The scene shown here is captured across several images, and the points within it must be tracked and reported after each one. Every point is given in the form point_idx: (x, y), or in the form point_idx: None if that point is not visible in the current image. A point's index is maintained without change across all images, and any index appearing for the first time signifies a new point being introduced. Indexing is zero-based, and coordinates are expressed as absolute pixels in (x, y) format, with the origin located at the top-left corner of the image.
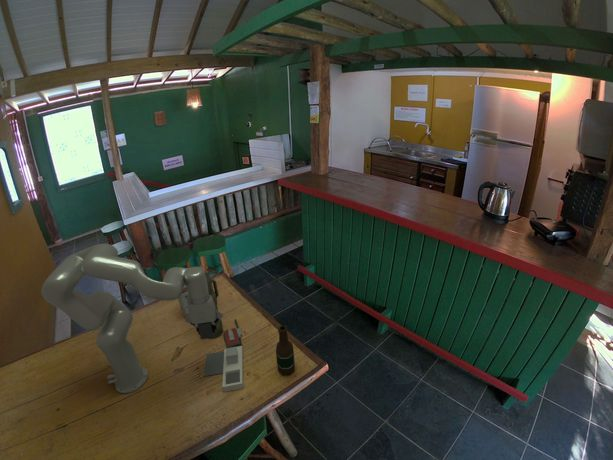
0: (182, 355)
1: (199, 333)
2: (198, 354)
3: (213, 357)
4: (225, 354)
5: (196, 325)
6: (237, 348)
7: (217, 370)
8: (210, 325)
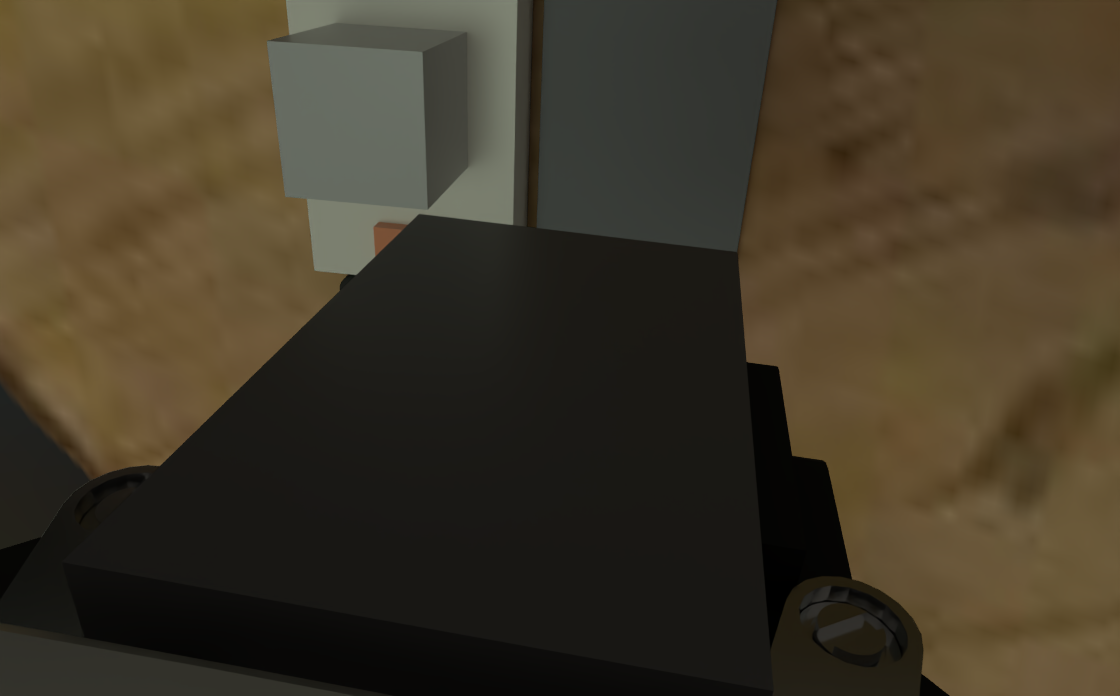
0: (994, 383)
1: (752, 383)
2: (817, 341)
3: (653, 241)
4: (497, 204)
5: (828, 665)
6: (362, 249)
7: (611, 33)
8: (181, 458)
